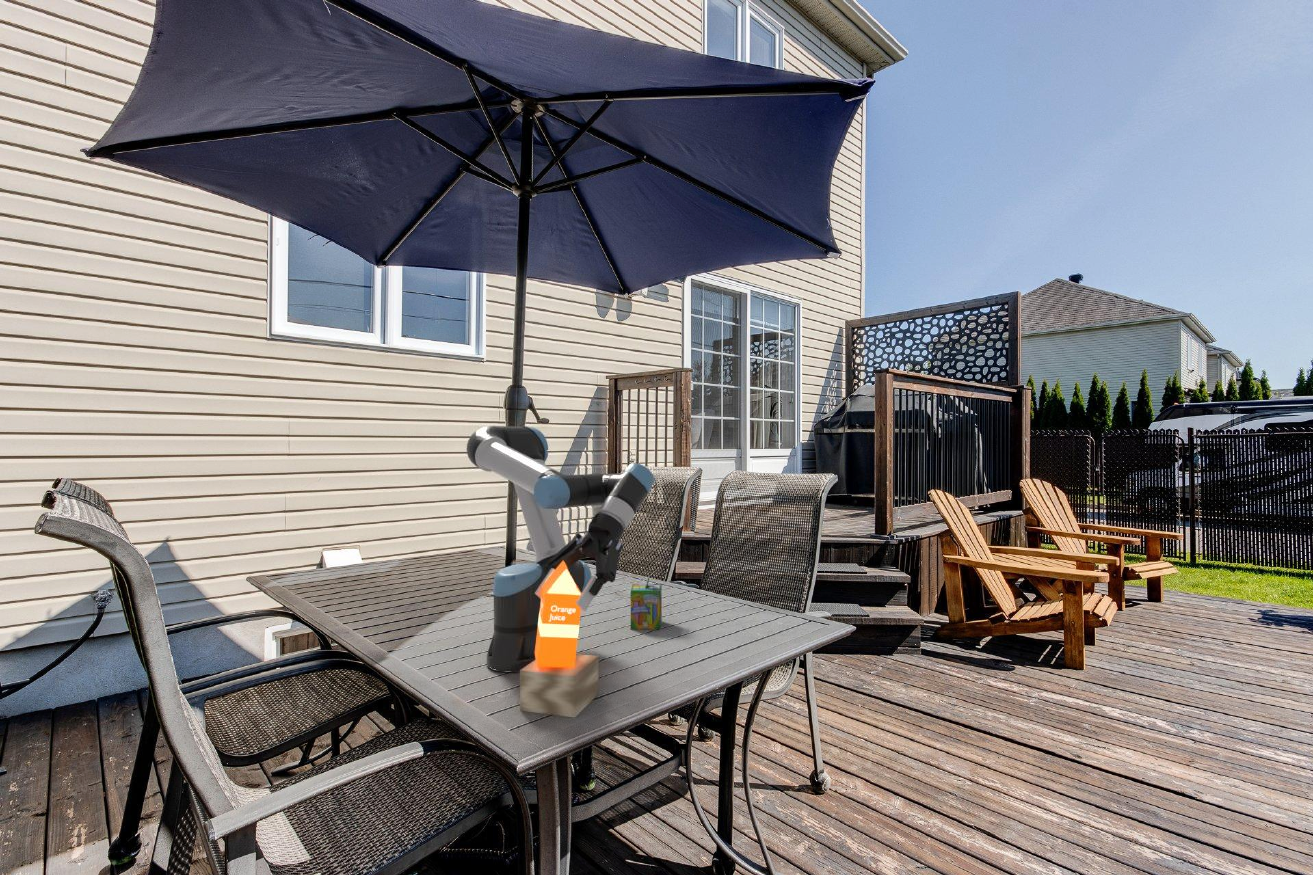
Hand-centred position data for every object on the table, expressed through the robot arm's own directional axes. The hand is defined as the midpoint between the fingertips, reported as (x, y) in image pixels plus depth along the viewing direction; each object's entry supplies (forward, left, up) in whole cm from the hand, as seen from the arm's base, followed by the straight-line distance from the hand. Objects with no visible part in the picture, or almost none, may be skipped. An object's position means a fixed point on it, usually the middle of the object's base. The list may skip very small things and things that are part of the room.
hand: (559, 602), depth 124 cm
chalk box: (0, +58, -21) cm, 61 cm away
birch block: (0, +1, -21) cm, 21 cm away
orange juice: (-2, +1, -12) cm, 12 cm away
